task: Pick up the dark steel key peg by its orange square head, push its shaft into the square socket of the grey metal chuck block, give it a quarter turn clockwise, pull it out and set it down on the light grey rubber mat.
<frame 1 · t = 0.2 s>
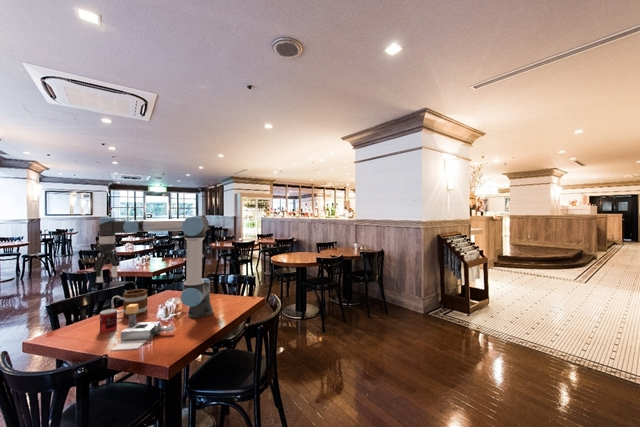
hand: (107, 279, 162), 27 cm above the table, fingers open, 13 cm apart
canned food: (108, 330, 156), on the table
rest mat: (129, 345, 138), on the table
chuck block: (141, 335, 149), on the table
key: (132, 329, 157), on the table
mug: (130, 315, 180), on the table
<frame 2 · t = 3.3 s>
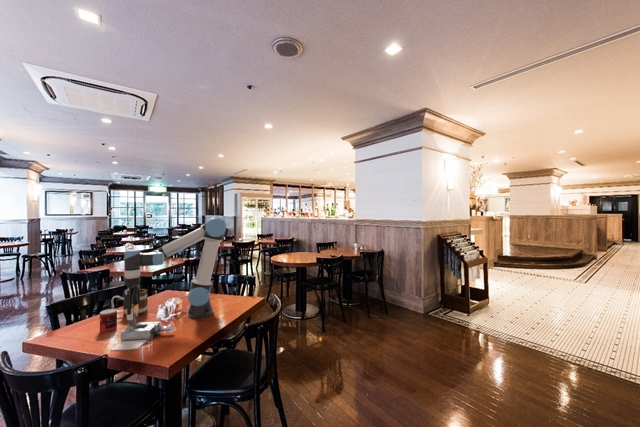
hand: (132, 318, 157), 7 cm above the table, fingers closed on key, 4 cm apart
key: (132, 329, 157), on the table, touching gripper
everything else where it was.
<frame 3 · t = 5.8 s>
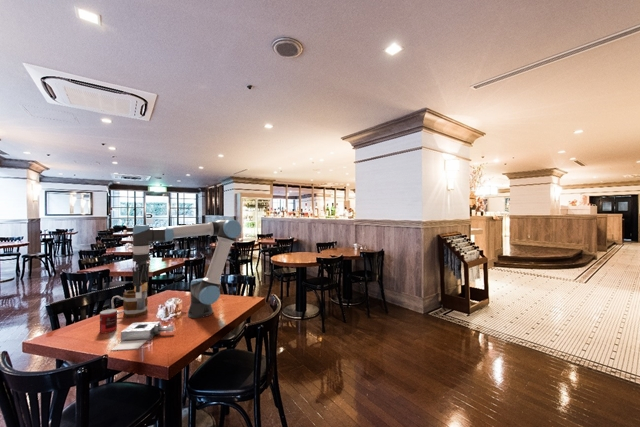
hand: (141, 296, 149), 21 cm above the table, fingers closed on key, 4 cm apart
key: (140, 309, 149), point 14 cm above the table, touching gripper
everything else where it was.
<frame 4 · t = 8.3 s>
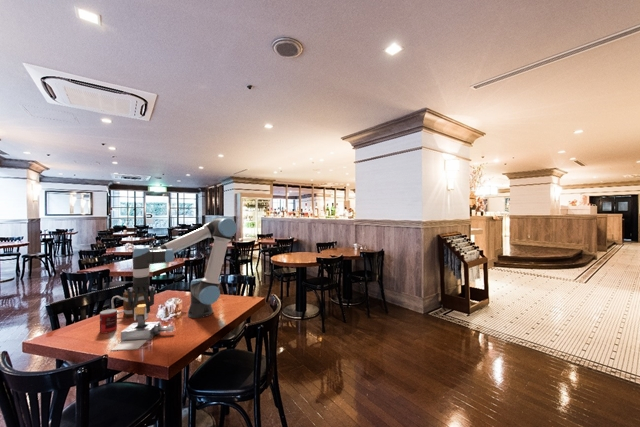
hand: (141, 319, 149), 9 cm above the table, fingers closed on key, 4 cm apart
key: (141, 331, 149), point 2 cm above the table, touching gripper
everything else where it was.
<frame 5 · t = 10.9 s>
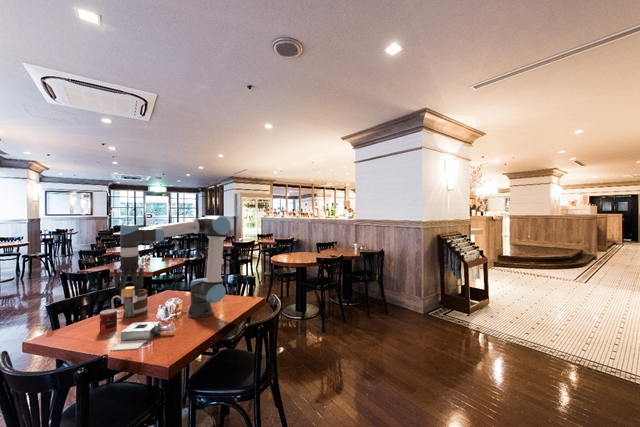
hand: (129, 302, 138), 22 cm above the table, fingers closed on key, 4 cm apart
key: (129, 315, 138), point 15 cm above the table, touching gripper
everything else where it was.
when the fingers open (8 cm above the table, at t = 13.4 s): key stays where it is, resting on rest mat.
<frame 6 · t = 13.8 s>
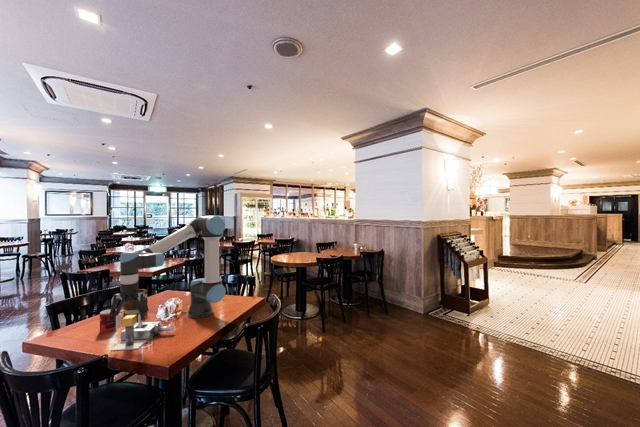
hand: (129, 327, 138), 9 cm above the table, fingers open, 9 cm apart
key: (129, 344, 138), point 1 cm above the table, touching rest mat
everything else where it was.
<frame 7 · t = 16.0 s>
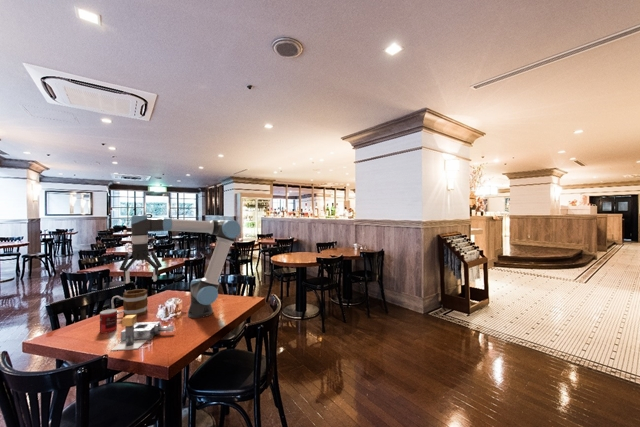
hand: (141, 281, 151), 29 cm above the table, fingers open, 13 cm apart
nothing on the table moved.
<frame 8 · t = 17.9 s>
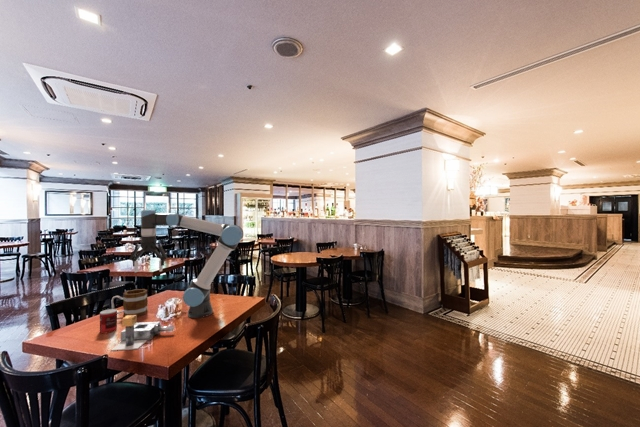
hand: (148, 271, 164), 32 cm above the table, fingers open, 13 cm apart
nothing on the table moved.
at the end: key inside the target area on the rest mat (0.1 cm from its centre), point 0.5 cm above the rest mat's base; the gripper is holding nothing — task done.
